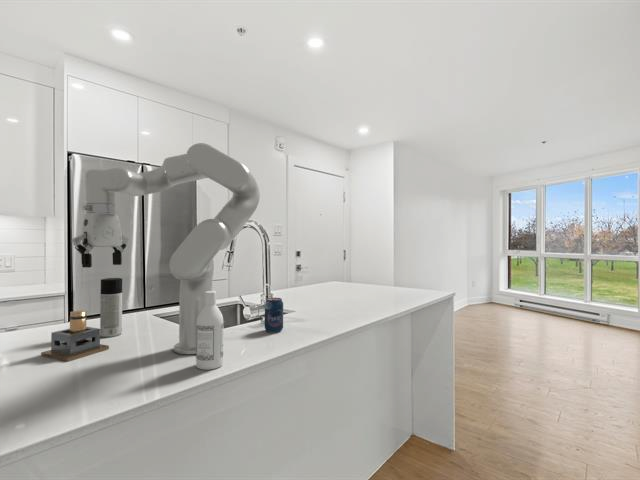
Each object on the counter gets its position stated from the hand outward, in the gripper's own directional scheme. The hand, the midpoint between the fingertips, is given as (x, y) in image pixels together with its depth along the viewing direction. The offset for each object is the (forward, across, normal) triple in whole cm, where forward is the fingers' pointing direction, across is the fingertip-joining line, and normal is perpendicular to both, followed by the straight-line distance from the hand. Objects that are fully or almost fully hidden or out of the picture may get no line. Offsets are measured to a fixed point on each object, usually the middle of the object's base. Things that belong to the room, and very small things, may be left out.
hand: (102, 265), depth 105 cm
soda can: (+28, +39, -37) cm, 61 cm away
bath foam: (+27, +1, -38) cm, 47 cm away
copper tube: (+24, -5, +5) cm, 25 cm away
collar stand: (+26, -5, +6) cm, 27 cm away
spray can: (+26, +12, +13) cm, 31 cm away
